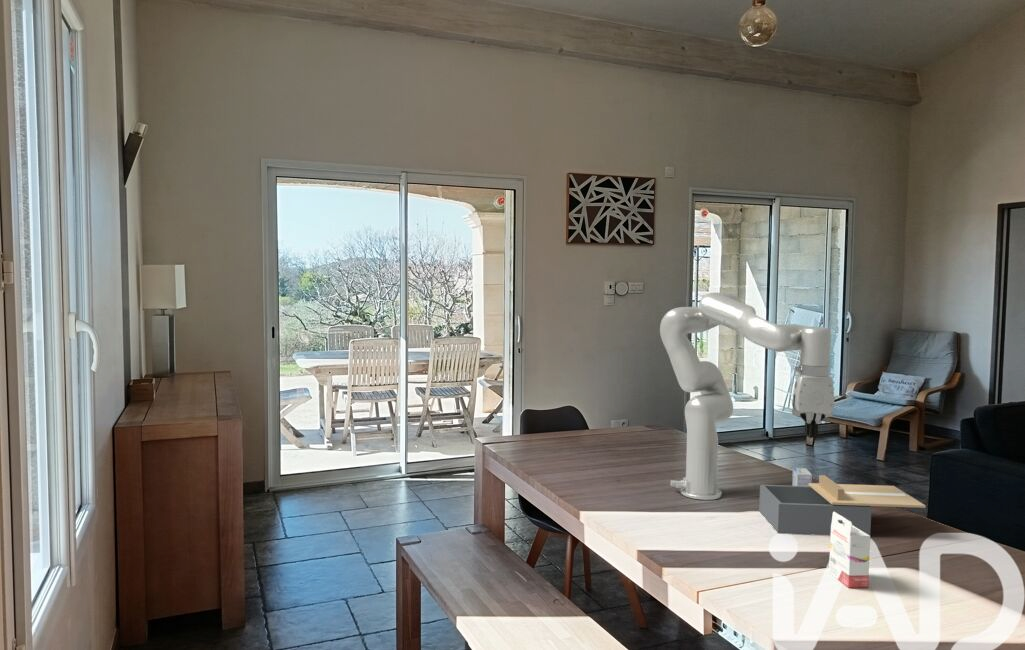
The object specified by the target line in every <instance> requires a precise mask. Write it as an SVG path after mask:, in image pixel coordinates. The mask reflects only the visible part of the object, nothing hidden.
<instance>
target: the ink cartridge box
mask: <svg viewBox="0 0 1025 650" xmlns="http://www.w3.org/2000/svg"><path fill="white" fill-rule="evenodd" d="M838 520H840V521H841V520H842V522H843V523H845V524H840V523H839V522H838ZM829 536H830V540H829V562H828V573H829V574H830V575H832V576H833V578H835V579H836V580H837V581H839V582H840V583H842V584H843V585H845V587H847V588H851V589H852V588H868V587H869V576H870V575H869V573H870V571H869V570H870V553H871V552H870V551H871V534H870V535H868V534H866V533H864V532H863V531H861V530H860V529H858V528H856V527H855V526H853V525H852V522H851V521H849V520H847V519H846V518H844V517H842V516H841V515H839V514H837V513H836V512H833V515H832V523H831V535H829Z"/></svg>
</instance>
